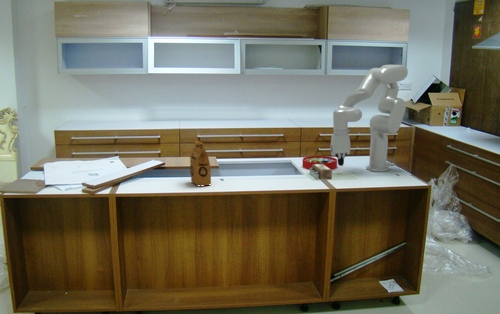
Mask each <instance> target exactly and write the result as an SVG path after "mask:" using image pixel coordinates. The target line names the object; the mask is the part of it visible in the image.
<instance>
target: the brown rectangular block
mask: <svg viewBox="0 0 500 314" xmlns="http://www.w3.org/2000/svg"><path fill="white" fill-rule="evenodd" d="M312 168H314V169H313V170H314V171H318V172H319V179H320V180H319V181H326V180H325V179H332V172H333V170H331V169H330V168H328V167H327V166H325V165H324V164H312Z"/></svg>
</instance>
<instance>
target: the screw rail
mask: <svg viewBox="0 0 500 314" xmlns="http://www.w3.org/2000/svg"><path fill="white" fill-rule="evenodd" d="M309 169H310V170H309ZM309 169H308V170H309V173H310V174H311V175H312V176H313V177H314V178H316V179H317V181H320V180H319V172H318V171H314V170H313V169H314V168H309Z"/></svg>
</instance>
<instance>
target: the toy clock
mask: <svg viewBox="0 0 500 314" xmlns="http://www.w3.org/2000/svg"><path fill="white" fill-rule="evenodd" d="M312 164H324V165H325V166H327V167H328V168H330V169H331V170H332V171H333V170H336V169H337V168H338V158H337V157H334V156H327V155H326V156H325V155H308V156H305V157H303V158H302V166H301V167H302V168H304V169H306V170H309V171H310V169H309V168H312Z"/></svg>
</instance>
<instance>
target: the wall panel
mask: <svg viewBox="0 0 500 314" xmlns="http://www.w3.org/2000/svg"><path fill="white" fill-rule="evenodd" d="M303 175H305V176H306V177H307V178H308V179H310V180H311V181H312V182H316V181H321V180H320V179H319V180H317V179H316V178H314V177H313V176H312V175H311V174H310V172H304V173H303ZM352 179H359V177H358V176H357V175H355V174H354V173H352V172H350V171H348V170H342V171H339V170H338V171H332V179H325V180H324V181H333V180H335V181H336V180H352Z"/></svg>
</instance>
